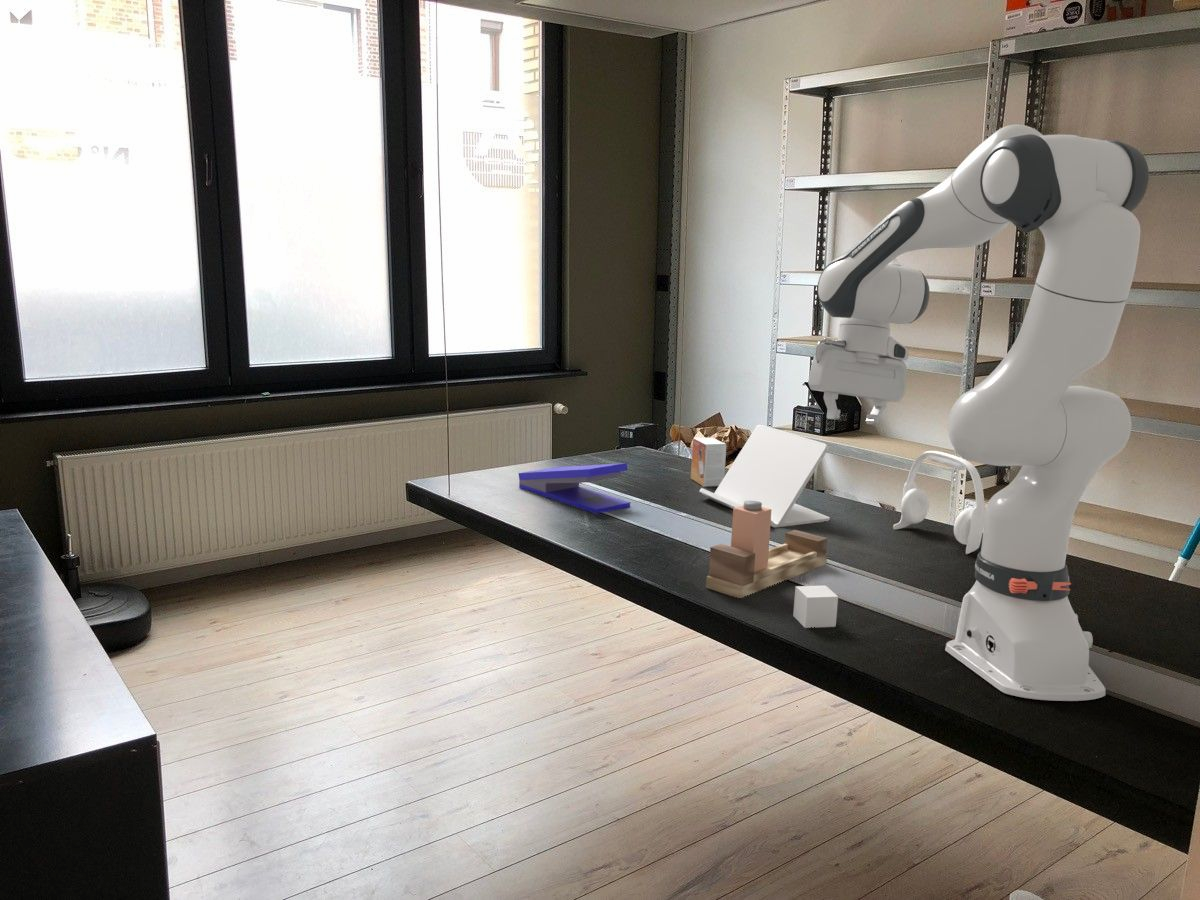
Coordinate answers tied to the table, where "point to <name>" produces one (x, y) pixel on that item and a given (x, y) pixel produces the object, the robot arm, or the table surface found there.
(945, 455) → the headset
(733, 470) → the tablet stand
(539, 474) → the stapler
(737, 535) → the pink capped carton
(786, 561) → the track
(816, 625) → the white cube
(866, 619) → the table surface
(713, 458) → the small box
